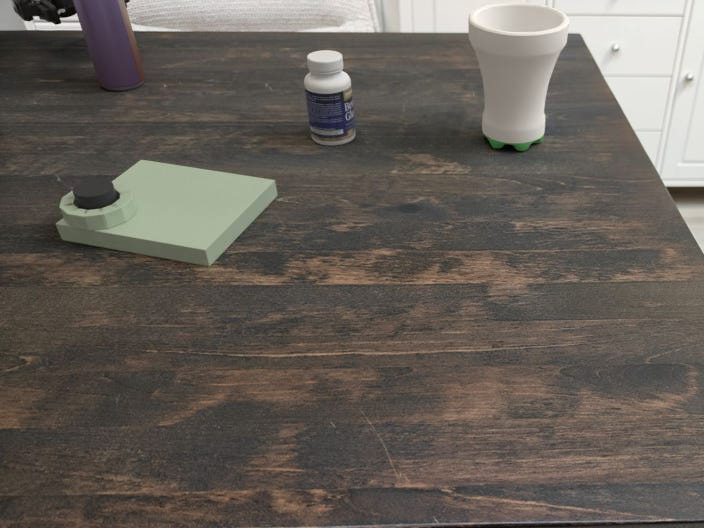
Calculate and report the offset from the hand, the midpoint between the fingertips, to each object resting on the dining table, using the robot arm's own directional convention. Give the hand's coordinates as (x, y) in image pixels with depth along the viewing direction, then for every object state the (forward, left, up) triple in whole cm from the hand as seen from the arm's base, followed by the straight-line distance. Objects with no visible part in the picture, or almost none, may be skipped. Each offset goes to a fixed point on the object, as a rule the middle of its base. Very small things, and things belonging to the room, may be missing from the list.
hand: (89, 9), depth 99 cm
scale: (+30, -32, -9) cm, 44 cm away
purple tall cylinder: (+4, -3, -9) cm, 10 cm away
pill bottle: (+38, -10, -9) cm, 40 cm away
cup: (+59, -4, -9) cm, 60 cm away
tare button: (+25, -36, -5) cm, 44 cm away
